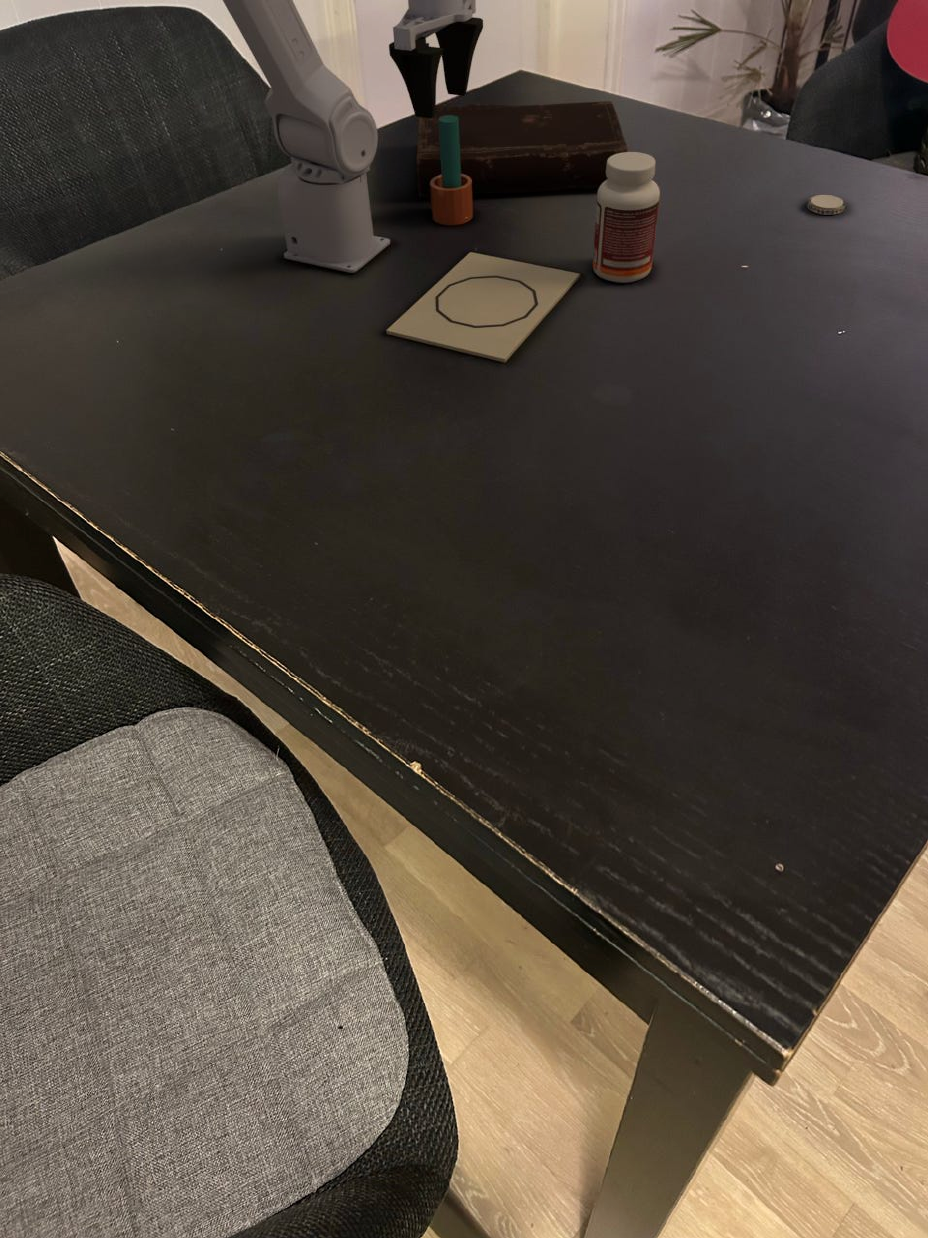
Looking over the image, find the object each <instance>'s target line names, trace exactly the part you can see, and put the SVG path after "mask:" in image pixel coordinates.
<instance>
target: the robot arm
mask: <svg viewBox="0 0 928 1238" xmlns="http://www.w3.org/2000/svg"><path fill="white" fill-rule="evenodd" d="M222 2H223V4H224V6H225V7H226V9H227V11H228V12H229V14H230V16H231V18H232V19H233V21H234V24H235V25H236V27H237V29H238V31H239V32H240V34H241V36H242V38H243V39H244V41H245V44H246V45H247V47H248V48H249V51H250V52H251V54H252V55H253V57H254V59H255V61H256V63H257V64H258V66H259V69H260V70H261V72H262V74H263V75H264V77H265V79H266V82H267V83H268V84H269V86H270V88H269V90H268V93H267V95H266V97H265V100H264V106H265V108H266V110H267V111H268V113H269V116H270V118H271V121H272V127H273V133H274V137H275V141H276V143H277V145H278V147H279V149H280V151H282V152H283V153H284V154H285V155H286V156H288V157H289V158H290V162H291V163H289V164H288V165H287V166H285V168H284V169H283V170H282V172H281V174H280V175H279V178H278V183H277V203H278V208H279V213H280V219H281V223H282V228H283V234H284V239H285V243H286V249H287V251H285V252H284V253H283V258H284V259H286V260H290V261H295V262H299V263H304V264H308V265H313V266H318V267H322V268H327V269H331V270H336V271H339V272H345V273H350V274H355V273H357V272H358V271H359V270H360V269H361V268H363V267H364V266H365V265H366V264H368V263H369V262H370V261H371V260H372V259H374V258H375V257H376V256H377V255H379V254H380V253H381V252H382V251H383V250H384V249H386V248H387V247H388V246H389V245H390V244H391V239H390V238H387V237H382V236H377V235H374V226H373V219H372V210H371V203H370V202H371V201H370V194H369V193H370V192H369V186H368V177H367V172H370V170H371V167H370V166H371V165H372V163H373V161H374V159H375V156H376V153H377V150H378V140H379V137H378V136H379V135H378V127H377V123H376V121H375V118H374V117H373V115H372V113H371V112H370V111H369V110H368V109H366V108H365V107H364V106H362V105H361V104H360V103H359V101H358V100H357V98H356V97H355V95H354V93H353V91H352V89H351V88H350V87H349V86H348V85H347V84H346V83H345V82H344V81H343V80H341V78H339V77H338V76H337V75H336V74H335V73H333V71H331V70H330V69H329V68H328V67H327V66H326V65H325V64H324V62H323V60H322V58H321V56H320V53H319V51H318V49H317V47H316V45H315V42H314V41H313V39H312V37H311V35H310V33H309V31H308V29H307V27H306V25H305V23H304V21H303V18H302V17H301V15H300V13H299V10H298V8H297V6H296V4H295V2H294V1H293V0H222ZM476 2H477V1H476V0H407V5H408V6H407V7H408V8H407V10H406V11H405V12H404V15H403V16H402V18H401V19H400V21H399V22H398V23H397V24H396V25H395V26H393V27H392V32H393V33H392V34H393V41H392V42H390V43H389V44H388V51H389V57H390V58H391V60H392V61H393V62H394V64H395V66H396V67H397V69H398V71H399V73H400V75H401V77H402V79H403V82H404V84H405V87H406V90H407V93H408V96H409V99H410V102H411V106H412V109H413V112H414V116H415V117H417V118H419V117H422V118H429V119H431V118H433V117H434V114H435V107H436V106H437V79H438V73H439V66H440V62H441V59H442V67H443V76H444V83H445V88H446V91H447V95H453V96H461V97H465V96H466V95H467V91H468V86H469V79H470V73H471V69H472V68H471V67H472V63H473V57H474V54H475V50H476V47H477V43H478V41H479V38H480V35H481V34H482V32H483V29H484V19H483V18H482V17H476V16H475V17H473V15H474V14H476V12H477V6H476V5H477V4H476ZM432 35H435V37H436V40H437V43H438V46H437V47H436V46H430V43H429V42H427V38H429V37H430V36H432Z"/></svg>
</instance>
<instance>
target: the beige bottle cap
mask: <svg viewBox="0 0 928 1238" xmlns="http://www.w3.org/2000/svg"><path fill="white" fill-rule="evenodd" d="M806 206H807V209H808V210H809V211H811V212H813V213H815V214H819V215H838V214H841V213H842V212H844V210H845V206H846V201H845V200H844V199H843V198H841V197H839V196H836V195H832V194H817V195H813V196H811V197H809V199H808V201H807V205H806Z"/></svg>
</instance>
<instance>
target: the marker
mask: <svg viewBox="0 0 928 1238" xmlns="http://www.w3.org/2000/svg"><path fill="white" fill-rule="evenodd" d="M438 122H439V139H440V156H441V172H442V188H446V189H449V188H458V187H461V165H460V143H459V120H458V117H457V116H454V115H445V116H442V117H440V118H439V119H438Z"/></svg>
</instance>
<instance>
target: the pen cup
mask: <svg viewBox="0 0 928 1238" xmlns="http://www.w3.org/2000/svg"><path fill="white" fill-rule="evenodd" d="M430 192H431V197H430V204H431V205H430V207H431V215H432V217H431V218H432V220H433V221H434V222H435V223H437V224H439V225H442V226H459V225H462V224H466V223H468V222H470V221H471V220H472V219H473V217H474V193H473V192H472V179H471V178H470V177H469V176H467V175H464V174H461V187H458V188H449V189H446V188H442V175H439V176H436V177H434V178H433V179H432V180H431V181H430Z"/></svg>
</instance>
